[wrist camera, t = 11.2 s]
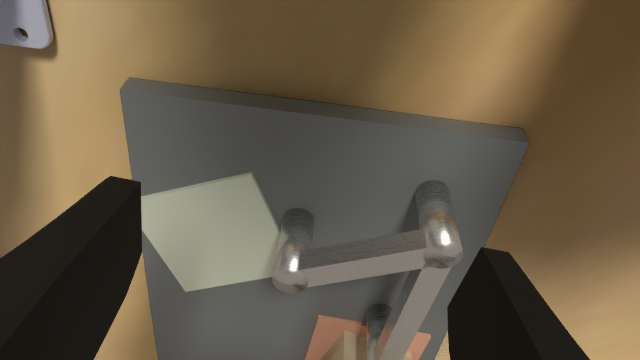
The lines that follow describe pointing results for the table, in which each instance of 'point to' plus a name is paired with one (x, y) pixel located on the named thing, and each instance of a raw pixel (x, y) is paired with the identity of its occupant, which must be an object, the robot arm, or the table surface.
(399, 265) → the bent wire
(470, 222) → the board
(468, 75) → the table surface
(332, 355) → the birch block
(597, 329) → the table surface
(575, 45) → the table surface
